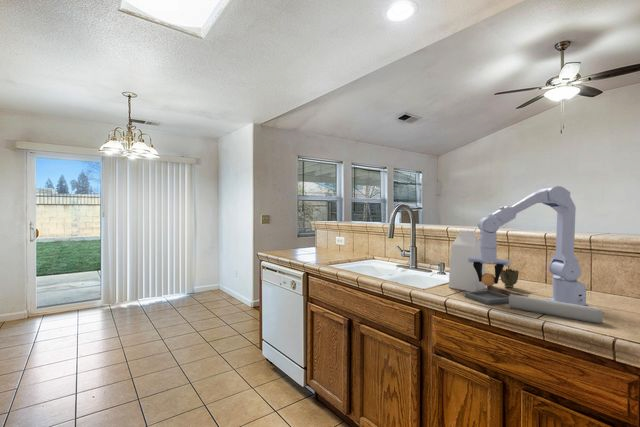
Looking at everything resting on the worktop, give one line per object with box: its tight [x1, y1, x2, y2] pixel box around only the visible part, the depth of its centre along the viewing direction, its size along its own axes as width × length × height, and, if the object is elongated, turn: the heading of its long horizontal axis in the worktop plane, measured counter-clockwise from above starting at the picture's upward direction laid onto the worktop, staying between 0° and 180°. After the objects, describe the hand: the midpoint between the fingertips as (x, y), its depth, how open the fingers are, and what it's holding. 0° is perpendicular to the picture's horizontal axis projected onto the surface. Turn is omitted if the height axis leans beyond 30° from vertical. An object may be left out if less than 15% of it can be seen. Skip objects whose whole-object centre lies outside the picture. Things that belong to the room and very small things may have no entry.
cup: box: [499, 268, 520, 289], centre depth 141 cm, size 8×7×8 cm
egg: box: [481, 272, 495, 287], centre depth 122 cm, size 5×5×5 cm
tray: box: [464, 289, 509, 306], centre depth 122 cm, size 12×12×2 cm
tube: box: [508, 294, 605, 324], centre depth 104 cm, size 5×5×25 cm
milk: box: [448, 229, 487, 292], centre depth 141 cm, size 12×12×26 cm
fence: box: [486, 285, 529, 297], centre depth 125 cm, size 18×1×3 cm, turn 17°
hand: (488, 282), depth 122 cm, fingers closed on egg, 5 cm apart
